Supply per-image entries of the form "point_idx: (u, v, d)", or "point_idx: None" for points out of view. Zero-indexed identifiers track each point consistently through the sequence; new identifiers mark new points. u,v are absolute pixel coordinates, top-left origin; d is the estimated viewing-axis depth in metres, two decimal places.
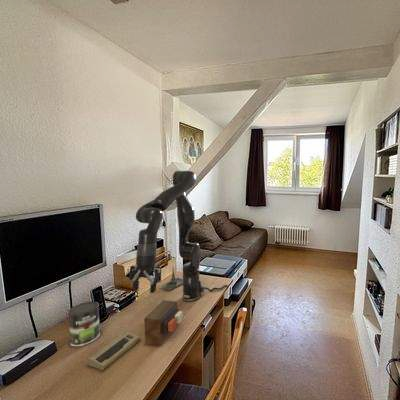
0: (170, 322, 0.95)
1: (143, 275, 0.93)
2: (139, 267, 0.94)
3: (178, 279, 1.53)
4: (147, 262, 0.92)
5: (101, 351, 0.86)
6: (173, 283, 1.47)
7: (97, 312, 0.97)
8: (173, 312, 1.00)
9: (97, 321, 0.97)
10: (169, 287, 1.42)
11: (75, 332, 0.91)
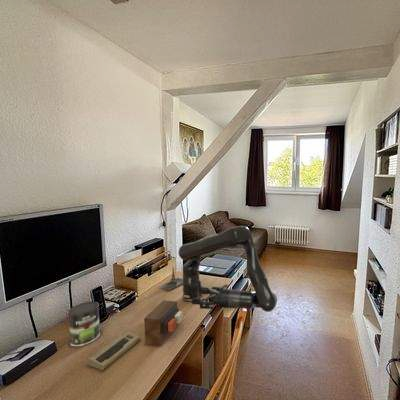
0: (170, 322, 0.95)
1: None
2: None
3: (178, 279, 1.53)
4: None
5: (101, 351, 0.86)
6: (173, 283, 1.47)
7: (97, 312, 0.97)
8: (173, 312, 1.00)
9: (97, 321, 0.97)
10: (169, 287, 1.42)
11: (75, 332, 0.91)
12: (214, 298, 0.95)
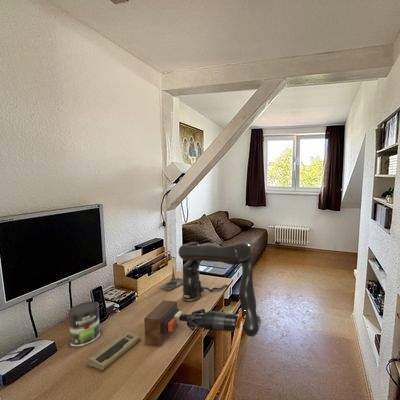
0: (170, 322, 0.95)
1: None
2: None
3: (178, 279, 1.53)
4: None
5: (101, 351, 0.86)
6: (173, 283, 1.47)
7: (97, 312, 0.97)
8: (173, 312, 1.00)
9: (97, 321, 0.97)
10: (169, 287, 1.42)
11: (75, 332, 0.91)
12: (199, 321, 0.97)
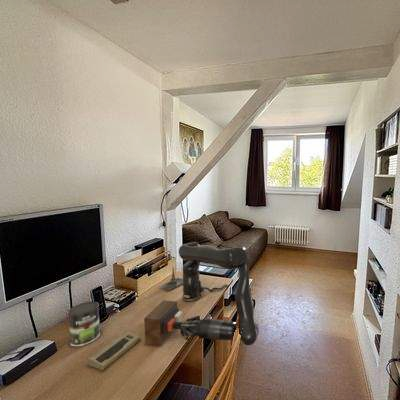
0: (170, 322, 0.95)
1: None
2: None
3: (178, 279, 1.53)
4: None
5: (101, 351, 0.86)
6: (173, 283, 1.47)
7: (97, 312, 0.97)
8: (173, 312, 1.00)
9: (97, 321, 0.97)
10: (169, 287, 1.42)
11: (75, 332, 0.91)
12: (194, 329, 0.92)
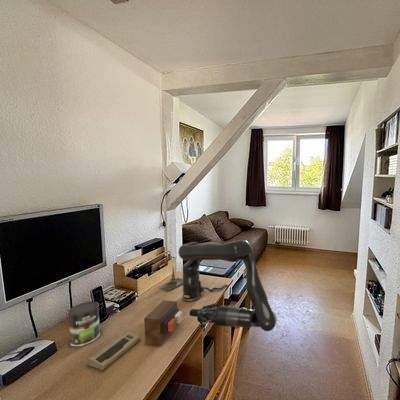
0: (170, 322, 0.95)
1: None
2: None
3: (178, 279, 1.53)
4: None
5: (101, 351, 0.86)
6: (173, 283, 1.47)
7: (97, 312, 0.97)
8: (173, 312, 1.00)
9: (97, 321, 0.97)
10: (169, 287, 1.42)
11: (75, 332, 0.91)
12: (211, 316, 0.90)
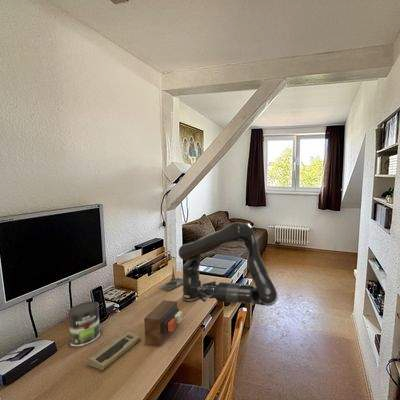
0: (170, 322, 0.95)
1: None
2: None
3: (178, 279, 1.53)
4: None
5: (101, 351, 0.86)
6: (173, 283, 1.47)
7: (97, 312, 0.97)
8: (173, 312, 1.00)
9: (97, 321, 0.97)
10: (169, 287, 1.42)
11: (75, 332, 0.91)
12: (211, 292, 0.89)
